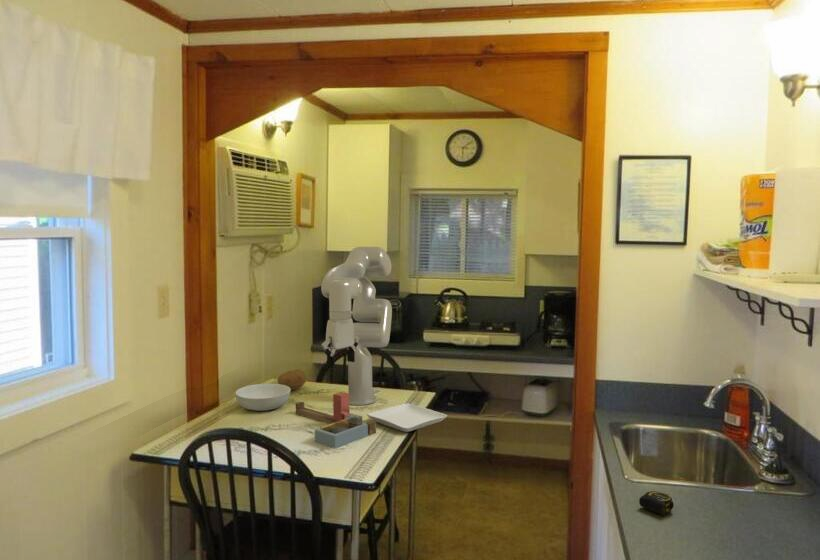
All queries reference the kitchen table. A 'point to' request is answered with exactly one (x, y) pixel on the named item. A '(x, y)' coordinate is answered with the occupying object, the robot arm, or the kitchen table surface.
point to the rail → (328, 417)
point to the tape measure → (657, 502)
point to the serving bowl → (263, 396)
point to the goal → (341, 436)
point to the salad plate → (406, 417)
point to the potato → (292, 379)
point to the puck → (338, 430)
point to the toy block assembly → (342, 413)
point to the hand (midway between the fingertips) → (341, 364)
